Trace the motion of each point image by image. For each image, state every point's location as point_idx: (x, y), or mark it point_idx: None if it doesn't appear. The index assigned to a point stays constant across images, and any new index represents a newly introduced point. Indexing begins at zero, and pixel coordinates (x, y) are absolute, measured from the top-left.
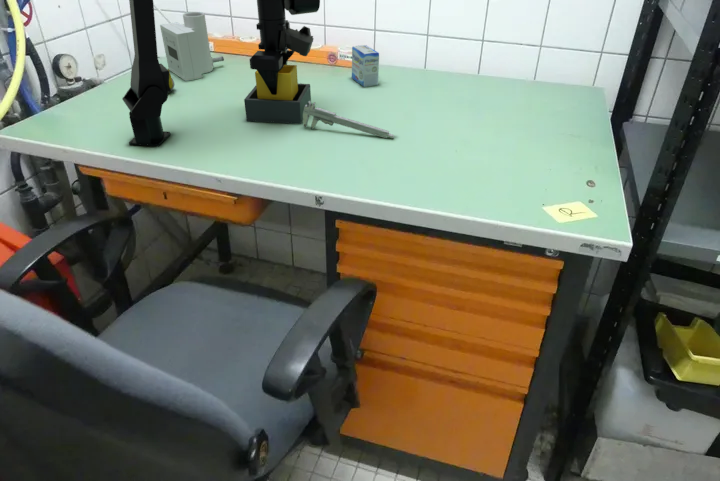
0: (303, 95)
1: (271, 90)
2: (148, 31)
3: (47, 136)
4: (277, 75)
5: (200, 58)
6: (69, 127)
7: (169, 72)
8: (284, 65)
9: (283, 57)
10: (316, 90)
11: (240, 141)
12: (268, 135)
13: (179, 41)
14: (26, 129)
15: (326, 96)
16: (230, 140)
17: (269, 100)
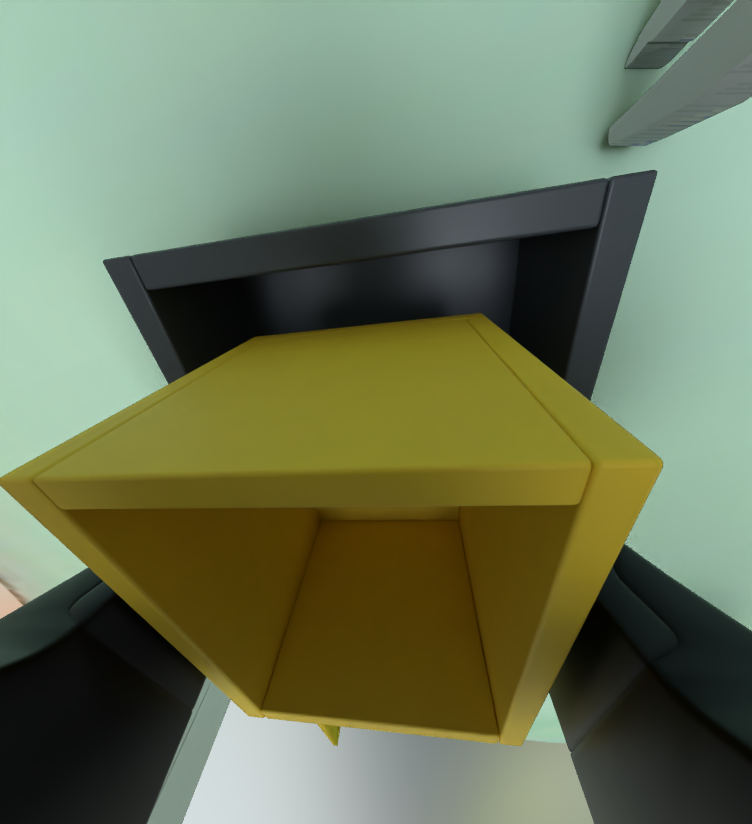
0: (422, 209)
1: None
2: None
3: None
4: (690, 629)
5: None
6: (545, 712)
7: (333, 730)
8: (161, 608)
9: (6, 753)
10: (30, 300)
11: (739, 446)
12: (696, 351)
13: (186, 802)
14: (551, 734)
15: (49, 198)
16: (712, 481)
17: None
